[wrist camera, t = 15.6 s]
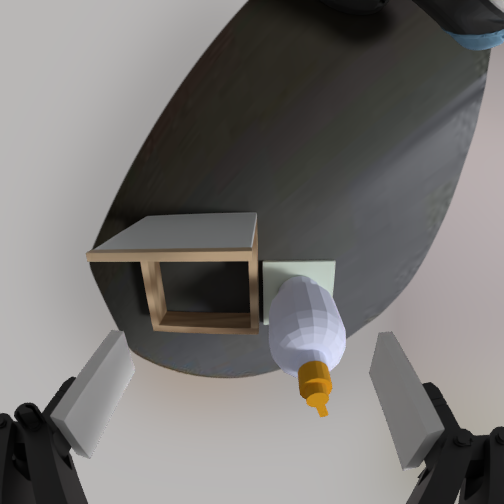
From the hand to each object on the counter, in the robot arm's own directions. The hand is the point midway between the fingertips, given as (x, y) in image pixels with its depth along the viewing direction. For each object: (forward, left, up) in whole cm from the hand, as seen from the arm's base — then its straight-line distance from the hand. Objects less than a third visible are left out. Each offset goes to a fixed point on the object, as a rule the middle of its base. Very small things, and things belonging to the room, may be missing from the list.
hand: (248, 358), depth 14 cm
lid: (0, -10, -35) cm, 36 cm away
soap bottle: (+14, +6, -34) cm, 37 cm away
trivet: (+14, +6, -35) cm, 38 cm away
